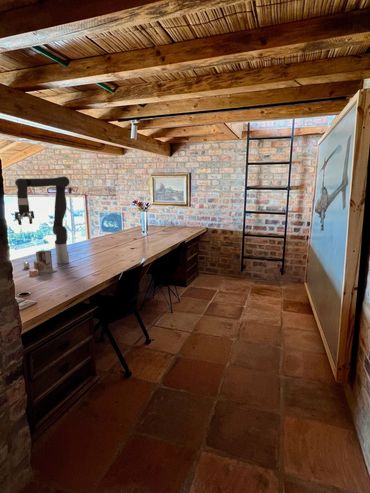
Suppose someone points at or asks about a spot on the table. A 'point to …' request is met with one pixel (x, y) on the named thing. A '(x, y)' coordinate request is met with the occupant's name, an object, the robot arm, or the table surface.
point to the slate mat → (46, 273)
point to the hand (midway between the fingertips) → (25, 224)
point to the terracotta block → (33, 272)
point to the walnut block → (35, 264)
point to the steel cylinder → (26, 265)
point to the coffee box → (44, 261)
